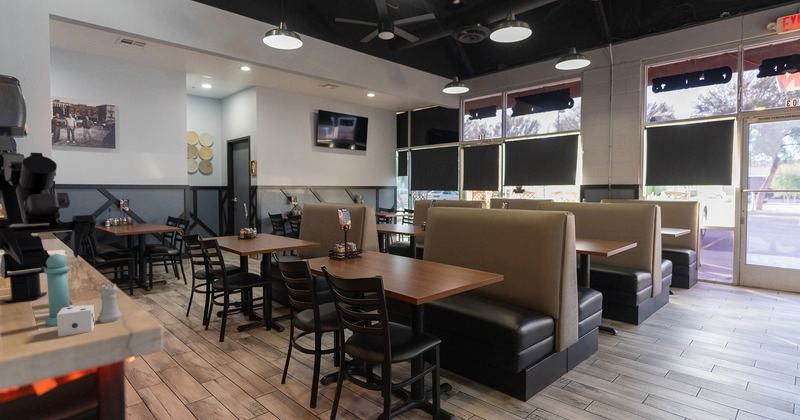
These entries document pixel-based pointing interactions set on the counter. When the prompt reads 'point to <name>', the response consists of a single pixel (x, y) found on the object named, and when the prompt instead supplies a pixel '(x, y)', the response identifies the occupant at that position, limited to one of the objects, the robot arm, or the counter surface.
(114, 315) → the rook chess piece
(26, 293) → the robot arm
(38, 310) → the board
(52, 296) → the pawn
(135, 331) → the counter surface
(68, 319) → the die
